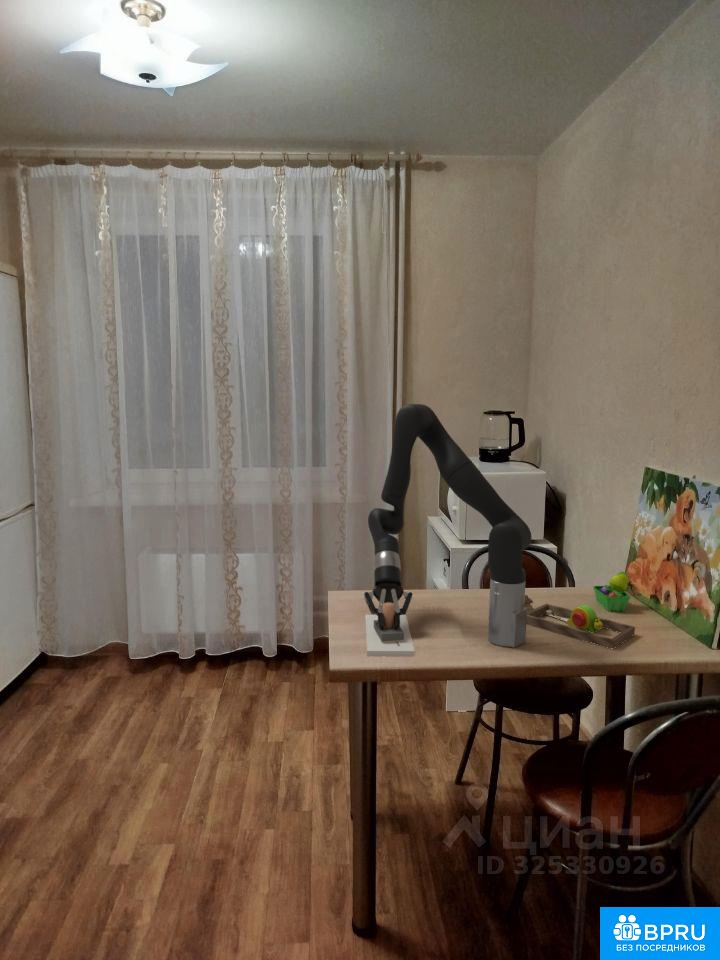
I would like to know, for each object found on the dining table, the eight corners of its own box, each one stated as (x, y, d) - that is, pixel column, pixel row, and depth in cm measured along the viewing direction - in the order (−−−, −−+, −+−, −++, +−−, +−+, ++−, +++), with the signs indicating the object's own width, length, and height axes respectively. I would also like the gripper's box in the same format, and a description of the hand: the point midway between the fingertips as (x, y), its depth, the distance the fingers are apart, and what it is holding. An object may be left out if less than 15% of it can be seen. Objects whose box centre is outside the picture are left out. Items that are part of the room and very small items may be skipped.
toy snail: (594, 637, 180) (595, 614, 179) (539, 616, 196) (540, 595, 195) (608, 632, 184) (610, 610, 183) (553, 612, 200) (554, 591, 199)
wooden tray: (634, 635, 182) (635, 626, 181) (613, 649, 172) (613, 640, 171) (546, 611, 200) (546, 603, 200) (522, 622, 190) (522, 614, 190)
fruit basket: (591, 600, 210) (593, 567, 209) (617, 600, 211) (620, 566, 209) (606, 613, 199) (608, 577, 198) (634, 613, 200) (637, 577, 198)
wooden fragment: (538, 617, 196) (538, 614, 195) (500, 615, 197) (501, 612, 197) (527, 591, 221) (527, 588, 221) (494, 589, 222) (494, 586, 222)
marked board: (365, 619, 192) (365, 614, 192) (405, 619, 192) (406, 614, 192) (367, 656, 166) (367, 650, 166) (414, 656, 166) (414, 651, 166)
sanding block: (373, 628, 181) (374, 598, 179) (394, 626, 182) (395, 597, 180) (381, 642, 171) (382, 611, 170) (403, 641, 172) (404, 610, 171)
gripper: (362, 564, 180) (363, 622, 170) (413, 564, 181) (416, 622, 170) (362, 576, 186) (362, 633, 176) (411, 577, 187) (414, 633, 177)
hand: (389, 627), depth 173 cm, fingers closed on sanding block, 3 cm apart
